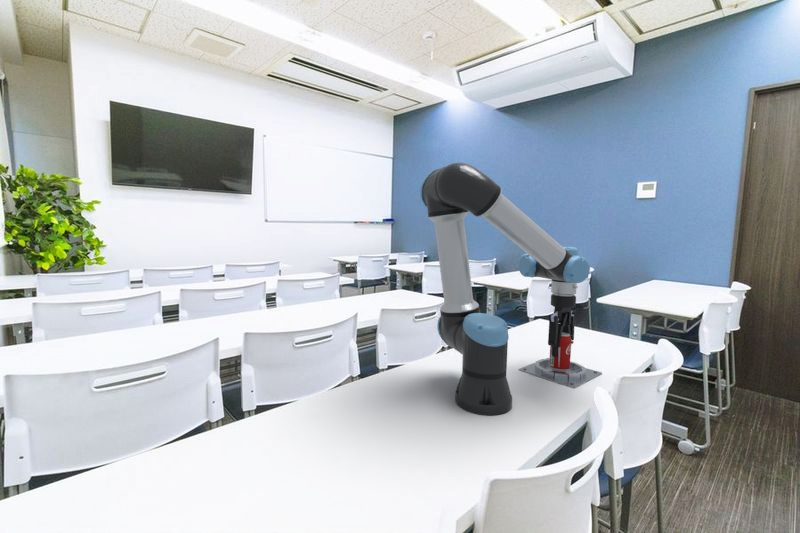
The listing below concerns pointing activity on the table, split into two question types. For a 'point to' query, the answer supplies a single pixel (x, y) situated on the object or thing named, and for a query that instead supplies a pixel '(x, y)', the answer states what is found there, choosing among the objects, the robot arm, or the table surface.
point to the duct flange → (561, 373)
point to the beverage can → (562, 354)
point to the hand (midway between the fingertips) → (560, 363)
